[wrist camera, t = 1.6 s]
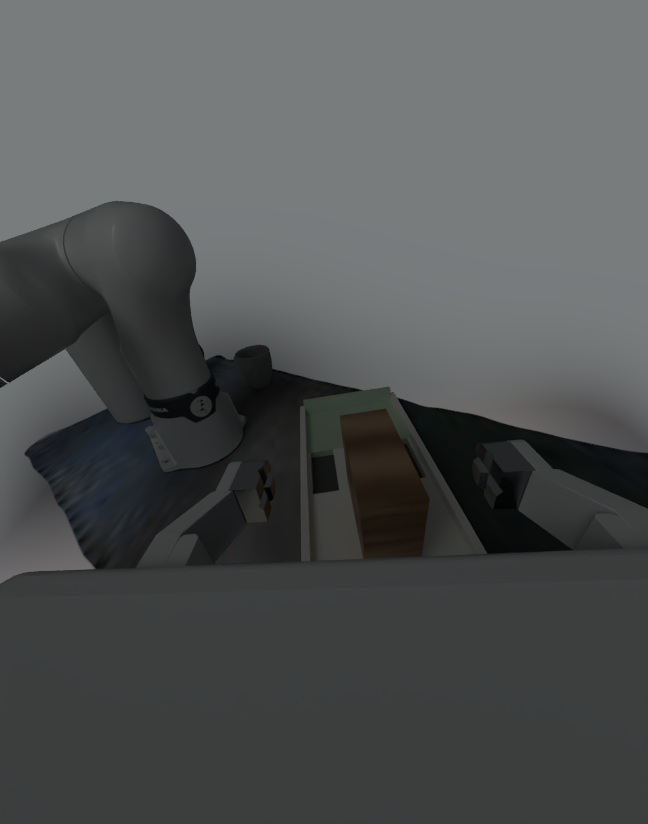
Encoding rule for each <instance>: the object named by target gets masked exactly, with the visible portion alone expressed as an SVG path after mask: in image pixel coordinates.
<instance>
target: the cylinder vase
mask: <svg viewBox="0 0 648 824" xmlns="http://www.w3.org/2000/svg"><path fill="white" fill-rule="evenodd" d="M66 350H67V352H68V353H69V355H70V356H71V357H72V359H73V360H74V362H75V363H76V364H77V366H78V367H79V369H80V370H81V372H82V373H83V374H84V376H85V377H86V379H87V380H88V381H89V383H90V384H91V386H92V387H93V388H94V390H95V391H96V393H97V394H98V396H99V397H100V398H101V400H102V401H103V403H104V404H105V405H106V407H107V408H108V410H109V411H110V412H111V414H112V415H113V417H114V418H115V419H116V421H118V422H120V423H124V424H129V423H136V422H140V421H143V420H145V419H148V418H150V416H151V414H152V413H151V411H150V409H149V408H148V407H147V405H146V403H145V399H144V392H143V391H142V389H141V387H140V386H139V384H138V382H137V380H136V379H135V377H134V375H133V374H132V372H131V370H130V369H129V367H128V365H127V364H126V362H125V360H124V359H123V357H122V355H121V353H120V339H119V335H118V332H117V329H116V326H115V323H114V320H113V317H112V314H111V311H109V312H108V313H106V314H105V315H103V316H102V317H101V318H100V319H98V320H97V321H96V322H95V323H94V324H92V325H91V326H90V327H89V328H88V329H87V330H86V331H84V332H83V333H82V334H81V335H80V337H79V339H78V340H77V341H76V342H75V343H74V344H73V345H71V346H69V347H67V348H66Z"/></svg>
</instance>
